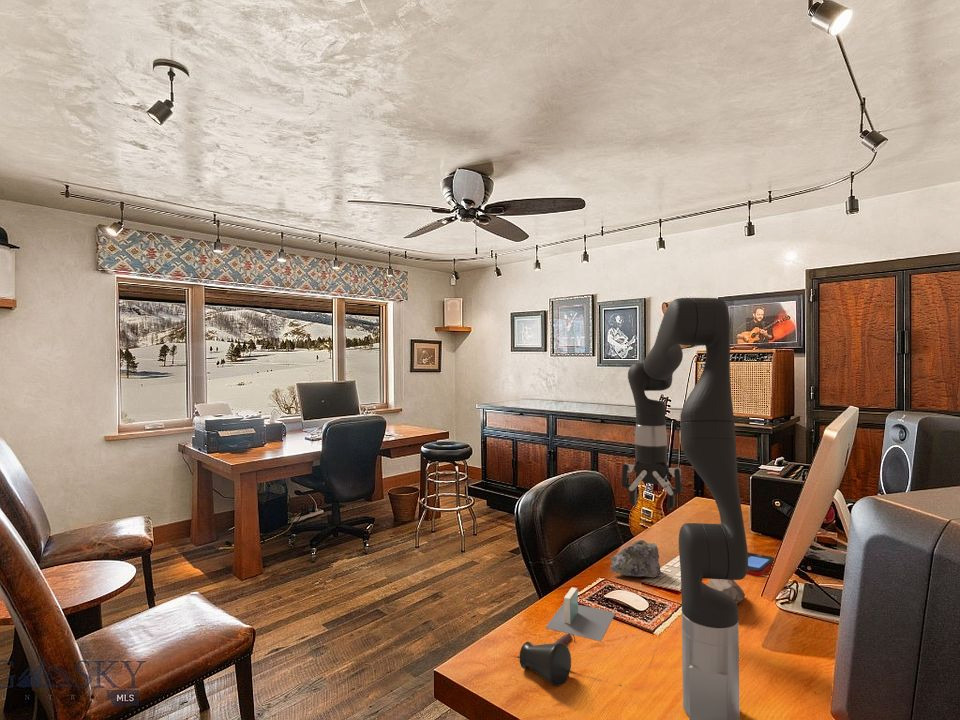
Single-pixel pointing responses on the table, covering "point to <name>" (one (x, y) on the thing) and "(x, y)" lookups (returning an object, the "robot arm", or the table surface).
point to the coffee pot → (548, 659)
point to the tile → (570, 605)
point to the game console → (758, 564)
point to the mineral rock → (637, 560)
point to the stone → (728, 588)
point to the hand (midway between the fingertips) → (651, 507)
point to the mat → (583, 622)
